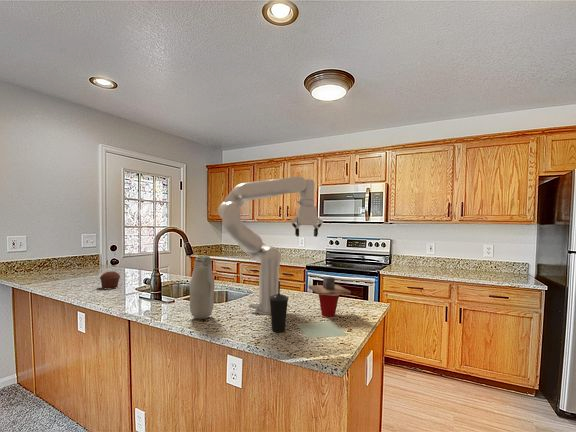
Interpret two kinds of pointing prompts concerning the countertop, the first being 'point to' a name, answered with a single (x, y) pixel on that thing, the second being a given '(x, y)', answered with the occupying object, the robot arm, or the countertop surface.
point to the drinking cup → (278, 311)
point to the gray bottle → (202, 288)
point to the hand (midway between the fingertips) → (306, 236)
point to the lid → (329, 287)
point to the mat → (321, 329)
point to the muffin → (110, 279)
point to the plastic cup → (328, 304)
